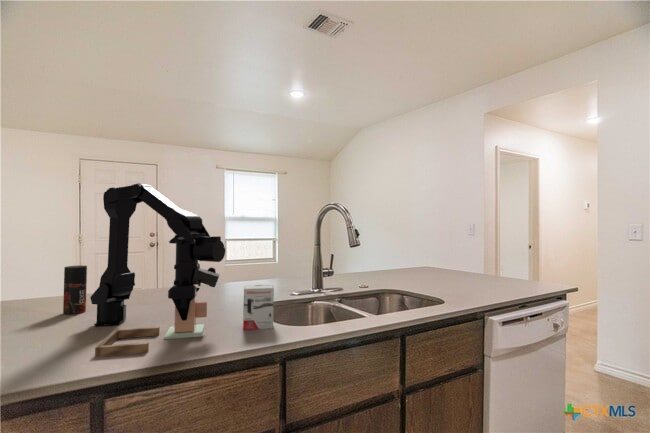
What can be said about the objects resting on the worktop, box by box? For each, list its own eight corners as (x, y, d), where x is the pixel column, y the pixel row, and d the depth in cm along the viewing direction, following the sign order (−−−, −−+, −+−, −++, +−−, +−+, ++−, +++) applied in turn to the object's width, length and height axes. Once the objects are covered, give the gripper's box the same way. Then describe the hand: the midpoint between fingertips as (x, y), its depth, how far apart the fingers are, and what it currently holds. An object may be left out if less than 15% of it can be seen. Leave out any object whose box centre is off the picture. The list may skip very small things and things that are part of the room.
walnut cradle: (94, 356, 74) (95, 347, 74) (114, 337, 86) (115, 329, 86) (147, 352, 76) (147, 343, 76) (159, 334, 89) (159, 326, 89)
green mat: (164, 339, 85) (164, 336, 85) (170, 328, 94) (170, 326, 94) (201, 336, 87) (201, 334, 88) (204, 326, 96) (204, 324, 96)
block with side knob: (174, 332, 88) (175, 298, 88) (177, 326, 92) (178, 294, 93) (205, 330, 90) (206, 296, 90) (207, 324, 94) (207, 293, 95)
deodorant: (71, 310, 112) (72, 265, 112) (89, 310, 112) (90, 265, 112) (58, 315, 106) (59, 267, 106) (78, 314, 106) (79, 267, 107)
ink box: (242, 330, 93) (243, 287, 93) (243, 325, 98) (243, 284, 98) (273, 328, 95) (274, 287, 95) (272, 323, 100) (273, 283, 100)
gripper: (216, 263, 84) (215, 325, 84) (219, 256, 102) (218, 307, 102) (168, 264, 81) (166, 329, 81) (179, 257, 99) (178, 309, 99)
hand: (185, 317), depth 91 cm, fingers closed on block with side knob, 5 cm apart
